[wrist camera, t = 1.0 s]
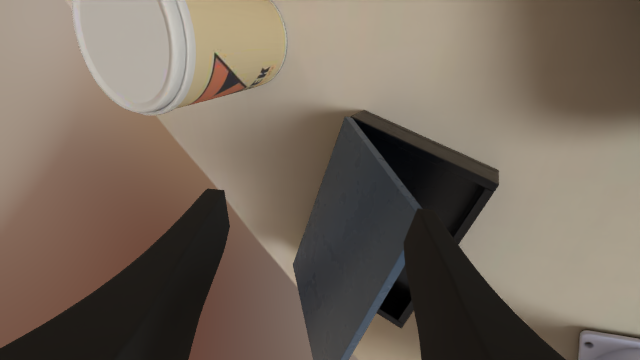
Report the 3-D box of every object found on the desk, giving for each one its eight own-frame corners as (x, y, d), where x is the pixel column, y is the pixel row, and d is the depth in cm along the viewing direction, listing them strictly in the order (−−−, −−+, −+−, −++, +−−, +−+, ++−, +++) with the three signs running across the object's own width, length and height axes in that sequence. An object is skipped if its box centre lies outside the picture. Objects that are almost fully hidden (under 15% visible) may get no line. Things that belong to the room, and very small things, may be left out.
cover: (431, 220, 14) (420, 218, 14) (328, 393, 22) (320, 394, 21) (352, 117, 23) (344, 116, 23) (298, 265, 31) (292, 264, 31)
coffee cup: (229, 105, 32) (110, 130, 22) (197, 4, 30) (47, -19, 20) (308, 80, 27) (201, 98, 17) (277, -42, 25) (133, -101, 15)
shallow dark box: (498, 170, 23) (499, 184, 20) (409, 306, 30) (401, 329, 28) (364, 109, 26) (350, 116, 23) (312, 246, 33) (297, 262, 31)
